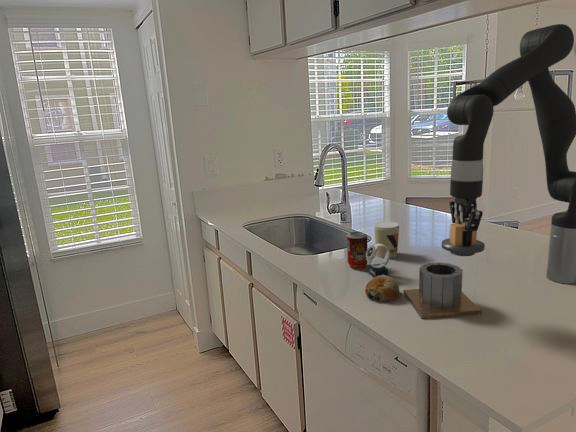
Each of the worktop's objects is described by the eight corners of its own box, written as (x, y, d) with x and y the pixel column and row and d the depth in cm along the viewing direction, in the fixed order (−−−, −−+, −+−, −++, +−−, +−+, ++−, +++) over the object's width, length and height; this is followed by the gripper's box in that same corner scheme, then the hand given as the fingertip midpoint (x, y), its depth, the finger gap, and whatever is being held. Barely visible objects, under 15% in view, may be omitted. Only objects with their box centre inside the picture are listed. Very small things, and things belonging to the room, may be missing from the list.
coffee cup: (391, 260, 156) (391, 229, 153) (369, 256, 162) (369, 225, 159) (403, 253, 162) (403, 223, 159) (382, 249, 168) (381, 220, 166)
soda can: (352, 271, 148) (352, 237, 145) (344, 264, 154) (343, 232, 152) (371, 268, 150) (370, 234, 147) (362, 261, 156) (361, 229, 153)
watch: (363, 274, 144) (363, 243, 142) (386, 271, 146) (385, 240, 143) (370, 280, 139) (369, 248, 136) (393, 277, 141) (393, 245, 138)
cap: (472, 245, 117) (473, 218, 115) (492, 257, 106) (494, 228, 105) (435, 247, 116) (435, 221, 114) (451, 260, 106) (452, 231, 104)
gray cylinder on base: (455, 289, 128) (457, 258, 126) (481, 314, 113) (483, 278, 110) (403, 293, 128) (403, 261, 126) (421, 318, 112) (421, 282, 110)
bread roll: (400, 311, 125) (411, 286, 124) (372, 303, 121) (382, 278, 120) (383, 298, 134) (393, 275, 133) (356, 290, 131) (366, 266, 130)
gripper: (496, 181, 100) (491, 250, 104) (468, 172, 114) (465, 234, 118) (464, 182, 100) (461, 252, 104) (440, 174, 113) (438, 236, 117)
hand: (463, 242), depth 111 cm, fingers closed on cap, 3 cm apart
